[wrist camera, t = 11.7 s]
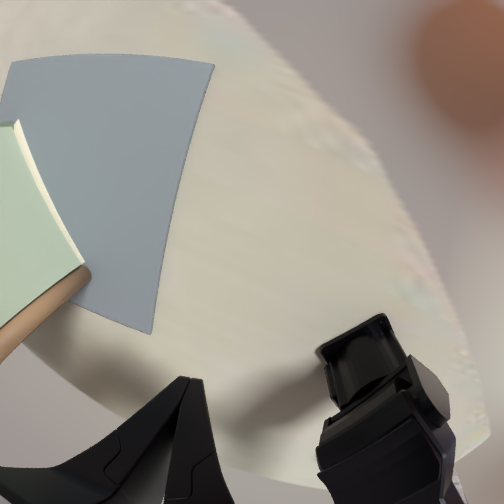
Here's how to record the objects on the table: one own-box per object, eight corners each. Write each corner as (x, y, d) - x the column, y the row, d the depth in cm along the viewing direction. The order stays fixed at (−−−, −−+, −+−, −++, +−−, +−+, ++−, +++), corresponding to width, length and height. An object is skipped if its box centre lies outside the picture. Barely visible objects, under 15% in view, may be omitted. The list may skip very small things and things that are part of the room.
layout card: (214, 65, 16) (213, 63, 16) (151, 332, 24) (150, 335, 24) (14, 62, 15) (11, 62, 15) (-7, 257, 23) (-10, 258, 22)
